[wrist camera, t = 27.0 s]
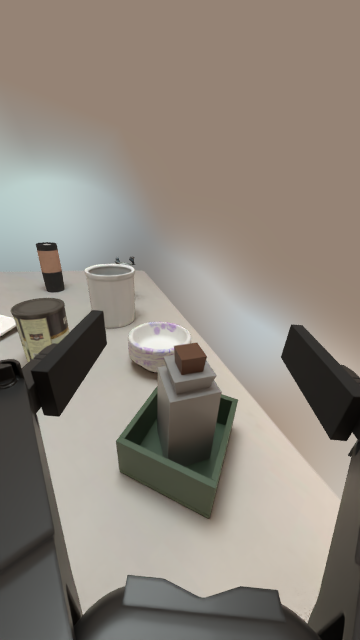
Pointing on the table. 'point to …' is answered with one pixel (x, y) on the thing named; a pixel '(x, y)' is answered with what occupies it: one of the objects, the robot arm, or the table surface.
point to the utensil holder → (112, 293)
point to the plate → (6, 324)
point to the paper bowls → (155, 343)
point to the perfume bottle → (187, 405)
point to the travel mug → (50, 266)
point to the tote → (165, 475)
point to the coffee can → (40, 324)
